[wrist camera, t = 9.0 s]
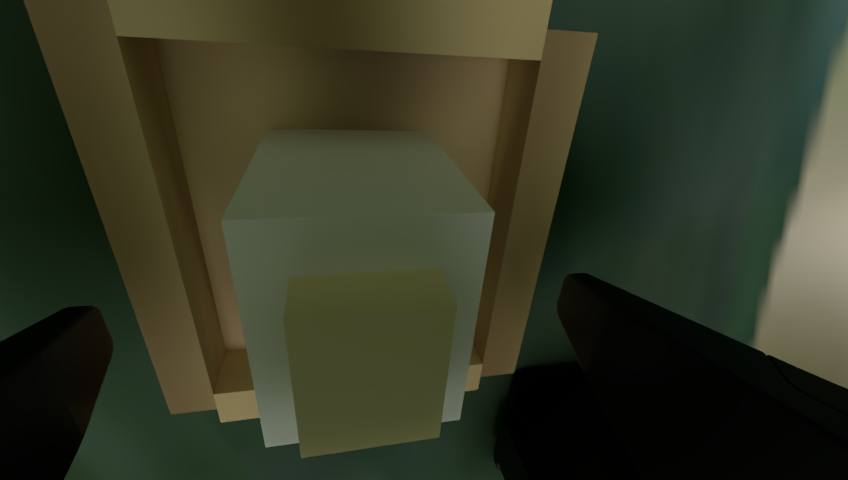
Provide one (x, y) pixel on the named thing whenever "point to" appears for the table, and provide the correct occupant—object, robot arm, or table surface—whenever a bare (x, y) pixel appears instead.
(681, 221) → the table surface
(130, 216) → the wooden tray
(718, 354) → the robot arm
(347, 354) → the plug block
